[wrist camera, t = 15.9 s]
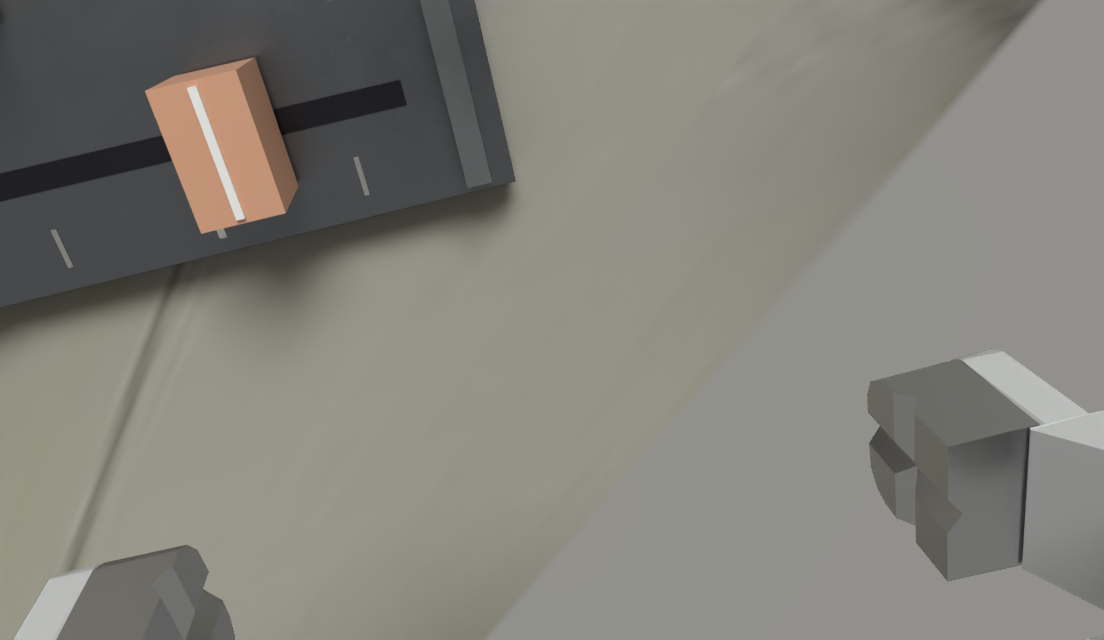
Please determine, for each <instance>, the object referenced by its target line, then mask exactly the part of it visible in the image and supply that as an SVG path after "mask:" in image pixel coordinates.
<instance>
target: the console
mask: <svg viewBox="0 0 1104 640" xmlns="http://www.w3.org/2000/svg"><path fill="white" fill-rule="evenodd" d="M254 57H255V59H256V62H257V65H258V68H259V71H260V73H261V76H262V79H263V82H264V85H265V88H266V91H267V94H268V97H269V100H270V103H271V106H272V109H273V112H274V115H275V118H276V121H277V124H278V127H279V130H280V133H281V136H282V139H283V142H284V145H285V148H286V150H287V153H288V156H289V159H290V162H291V165H292V168H293V171H294V174H295V177H296V180H297V183H298V188H297V190H296V192H295V194H294V197H293V199H292V201H291V203H290V205H289V207H288V209H287V212H286V213H285V214H281V215H276V216H272V217H268V218H264V219H260V220H256V221H252V222H248V223H244V224H239V225H235V226H231V227H227V228H223V229H219V230H215V231H211V232H206V233H202V234H201V232H200V229H199V227H198V224H197V222H196V219H195V217H194V214H193V212H192V209H191V207H190V204H189V202H188V199H187V197H186V194H185V192H184V189H183V186H182V184H181V181H180V179H179V176H178V174H177V171H176V169H175V166H174V164H173V161H172V159H171V156H170V154H169V151H168V149H167V146H166V143H165V141H164V138H163V136H162V133H161V131H160V128H159V126H158V123H157V121H156V118H155V116H154V113H153V111H152V108H151V106H150V103H149V101H148V98H147V95H146V93H145V91H146V90H148V89H150V88H152V87H154V86H156V85H158V84H160V83H162V82H164V81H166V80H167V79H169V78H171V77H173V76H176V75H181V74H185V73H189V72H194V71H198V70H202V69H207V68H211V67H215V66H220V65H224V64H228V63H233V62H237V61H241V60H245V59H250V58H254ZM511 182H515V176H514V172H513V168H512V163H511V159H510V155H509V150H508V146H507V141H506V137H505V133H504V128H503V124H502V120H501V115H500V111H499V107H498V102H497V98H496V93H495V89H494V85H493V80H492V76H491V72H490V67H489V63H488V58H487V54H486V50H485V45H484V41H483V37H482V32H481V28H480V23H479V19H478V15H477V10H476V6H475V2H474V0H0V307H4V306H8V305H12V304H16V303H20V302H24V301H29V300H33V299H37V298H41V297H45V296H49V295H53V294H57V293H61V292H65V291H69V290H73V289H78V288H82V287H86V286H90V285H94V284H98V283H102V282H106V281H110V280H114V279H118V278H122V277H127V276H131V275H135V274H139V273H143V272H147V271H151V270H155V269H159V268H163V267H167V266H172V265H176V264H180V263H184V262H188V261H192V260H196V259H200V258H204V257H208V256H212V255H216V254H221V253H225V252H229V251H233V250H237V249H241V248H245V247H249V246H253V245H257V244H261V243H265V242H270V241H274V240H278V239H282V238H286V237H290V236H294V235H298V234H302V233H306V232H310V231H314V230H319V229H323V228H327V227H331V226H335V225H339V224H343V223H347V222H351V221H355V220H359V219H363V218H368V217H372V216H376V215H380V214H384V213H388V212H392V211H396V210H400V209H404V208H408V207H412V206H417V205H421V204H425V203H429V202H433V201H437V200H441V199H445V198H449V197H453V196H457V195H462V194H466V193H470V192H474V191H478V190H482V189H486V188H490V187H494V186H498V185H502V184H506V183H511Z"/></svg>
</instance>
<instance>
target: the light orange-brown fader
mask: <svg viewBox="0 0 1104 640" xmlns="http://www.w3.org/2000/svg"><path fill="white" fill-rule="evenodd" d="M145 93H146V95H147V98H148V101H149V103H150V106H151V108H152V111H153V113H154V116H155V118H156V121H157V123H158V126H159V128H160V131H161V133H162V136H163V138H164V141H165V143H166V146H167V149H168V151H169V154H170V156H171V159H172V161H173V164H174V166H175V169H176V171H177V174H178V176H179V179H180V181H181V184H182V186H183V189H184V192H185V194H186V197H187V199H188V202H189V204H190V207H191V209H192V212H193V214H194V217H195V219H196V222H197V224H198V227H199V229H200V232H201V234H202V233H206V232H211V231H215V230H219V229H223V228H227V227H231V226H235V225H239V224H244V223H248V222H252V221H256V220H260V219H264V218H268V217H272V216H276V215H281V214H285V213H286V212H287V209H288V207H289V205H290V203H291V201H292V199H293V197H294V194H295V192H296V190H297V188H298V183H297V180H296V177H295V174H294V171H293V168H292V165H291V162H290V159H289V156H288V153H287V150H286V148H285V145H284V142H283V139H282V136H281V133H280V130H279V127H278V124H277V121H276V118H275V115H274V112H273V109H272V106H271V103H270V100H269V97H268V94H267V91H266V88H265V85H264V82H263V79H262V76H261V73H260V71H259V68H258V65H257V62H256V59H255V57H254V58H250V59H245V60H241V61H237V62H233V63H228V64H224V65H220V66H215V67H211V68H207V69H202V70H198V71H194V72H189V73H185V74H181V75H176V76H173V77H171V78H169V79H167V80H166V81H164V82H162V83H160V84H158V85H156V86H154V87H152V88H150V89H148V90H146V91H145Z"/></svg>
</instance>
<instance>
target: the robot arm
mask: <svg viewBox="0 0 1104 640" xmlns="http://www.w3.org/2000/svg"><path fill="white" fill-rule="evenodd" d="M867 395H868V413H869V414H870V415H871V416H872V417H873V418H874V419H875V421H876V422H877V423H878V424H879V425H880V427H879V429H878V430H877V432H876V433H875V435H874V436H873V438H872V440H871V441H870V443H869V447H870V460H871V468H872V471H873V475H874V478H875V482H876V485H877V488H878V490H879V492H880V494H881V496H882V498H883V499H884V502H885V503H886V505H887V506H888V507H889V509H890V510H891V511H892V513H893V514H894V515H895V517H896V518H898V519H901V520H903V521H906V522H908V523H911V524H913V525H916V543H917V544H918V546H919V547H920V548H921V549H922V550H923V552H924V553H925V554H926V555H927V557H928V558H929V559H930V560H931V562H932V563H933V564H934V565H935V566H936V568H937V569H938V570H939V571H940V573H941V574H942V575H943V576H944V578H945V579H946V580H947V581H952V580H956V579H960V578H965V577H969V576H974V575H979V574H983V573H988V572H992V571H997V570H1001V569H1006V568H1010V567H1015V566H1019V565H1022V568H1023V569H1024V570H1026V571H1028V572H1030V573H1032V574H1034V575H1036V576H1038V577H1040V578H1042V579H1044V580H1046V581H1048V582H1050V583H1052V584H1054V585H1056V586H1058V587H1059V588H1062V589H1063V590H1065V591H1068V592H1069V593H1071V594H1073V595H1075V596H1077V597H1079V598H1081V599H1083V600H1085V601H1087V602H1089V603H1091V604H1093V605H1095V606H1097V607H1099V608H1101V609H1103V610H1104V411H1098V412H1094V413H1090V414H1089V413H1087V412H1086V411H1085V410H1083V409H1082V408H1081V407H1079V406H1078V405H1076V404H1075V403H1074V402H1072V401H1071V400H1069V399H1068V398H1067V397H1065V396H1064V395H1062V394H1061V393H1060V392H1058V391H1057V390H1056V389H1054V388H1053V387H1052V386H1050V385H1049V384H1047V383H1046V382H1044V381H1043V380H1042V379H1040V378H1039V377H1038V376H1036V375H1035V374H1034V373H1032V372H1031V371H1029V370H1028V369H1027V368H1025V367H1024V366H1022V365H1021V364H1020V363H1018V362H1017V361H1016V360H1014V359H1013V358H1011V357H1010V356H1009V355H1007V354H1006V353H1004V352H1003V351H999V350H994V349H989V350H986V351H982V352H979V353H975V354H971V355H968V356H964V357H961V358H957V359H953V360H951V361H949V362H945V363H941V364H937V365H933V366H930V367H926V368H922V369H918V370H914V371H910V372H906V373H902V374H898V375H895V376H891V377H887V378H883V379H879V380H876V381H871V382H870V386H869V390H868V394H867ZM208 572H209V571H208V569H207V567H206V565H205V564H204V562H203V560H202V558H201V556H200V554H199V552H198V550H197V549H195V548H193V547H191V546H188V545H184V546H179V547H174V548H170V549H165V550H161V551H156V552H152V553H147V554H142V555H138V556H133V557H129V558H124V559H120V560H115V561H110V562H106V563H103V564H102V565H101V564H96V565H92V566H88V567H84V568H80V569H76V570H72V571H68V572H64V573H61V574H59V575H57V576H55V577H53V578H51V579H49V581H48V583H47V584H46V586H45V588H44V589H43V591H42V593H41V595H40V596H39V598H38V600H37V601H36V603H35V605H34V606H33V608H32V610H31V611H30V613H29V615H28V616H27V618H26V620H25V621H24V623H23V625H22V626H21V628H20V630H19V631H18V633H17V635H16V637H15V638H14V640H235V635H234V631H233V627H232V623H231V619H230V616H229V613H228V611H227V609H226V607H225V605H224V603H223V600H221V599H219V598H217V597H216V596H214V595H212V594H210V593H209V592H207V591H205V590H203V587H204V584H205V581H206V578H207V575H208ZM1087 640H1104V635H1101V636H1098V637H1094V638H1090V639H1087Z"/></svg>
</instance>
